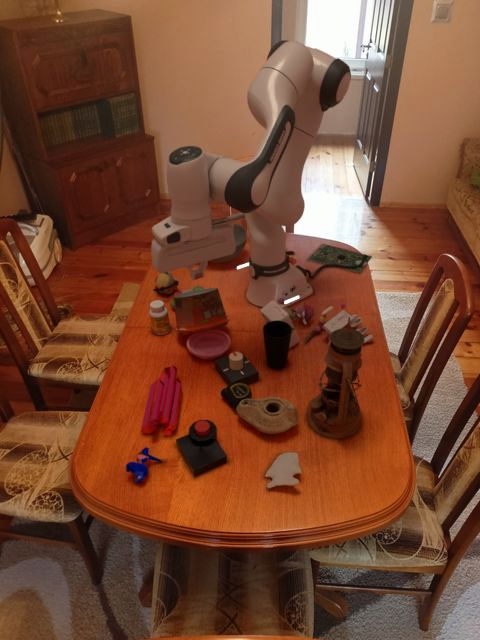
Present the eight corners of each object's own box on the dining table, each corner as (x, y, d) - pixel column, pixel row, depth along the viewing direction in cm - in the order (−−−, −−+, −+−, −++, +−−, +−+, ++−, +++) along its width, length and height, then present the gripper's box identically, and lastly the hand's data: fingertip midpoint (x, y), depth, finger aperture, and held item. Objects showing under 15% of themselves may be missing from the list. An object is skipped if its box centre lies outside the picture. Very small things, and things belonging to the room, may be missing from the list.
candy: (345, 349, 139) (347, 332, 135) (317, 347, 140) (318, 330, 136) (344, 313, 153) (347, 297, 149) (319, 311, 153) (320, 295, 150)
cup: (270, 375, 131) (271, 341, 123) (258, 359, 136) (257, 325, 128) (295, 366, 133) (297, 332, 125) (282, 350, 138) (283, 317, 131)
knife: (285, 254, 181) (285, 256, 181) (294, 252, 182) (294, 253, 183) (266, 240, 190) (266, 241, 191) (275, 237, 192) (275, 239, 192)
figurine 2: (270, 313, 135) (323, 305, 136) (265, 297, 147) (313, 290, 148) (274, 348, 140) (325, 340, 141) (269, 330, 152) (315, 323, 153)
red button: (206, 423, 113) (205, 418, 112) (212, 433, 110) (212, 427, 109) (192, 429, 111) (192, 423, 110) (199, 438, 109) (198, 433, 108)
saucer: (212, 331, 145) (211, 322, 143) (240, 350, 139) (239, 341, 137) (178, 349, 139) (177, 341, 137) (206, 370, 132) (205, 361, 130)
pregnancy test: (351, 320, 146) (353, 317, 146) (332, 336, 138) (334, 334, 137) (333, 304, 148) (335, 301, 147) (312, 319, 139) (314, 316, 139)
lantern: (303, 394, 125) (311, 296, 106) (353, 393, 125) (370, 296, 106) (310, 445, 112) (320, 345, 93) (366, 444, 112) (387, 344, 93)
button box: (210, 427, 116) (209, 415, 114) (231, 459, 109) (231, 448, 107) (174, 442, 113) (172, 430, 110) (194, 476, 106) (192, 465, 103)
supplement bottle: (166, 322, 149) (161, 296, 143) (173, 331, 146) (169, 305, 139) (149, 328, 147) (144, 302, 141) (157, 337, 143) (152, 311, 137)
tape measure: (220, 398, 124) (219, 387, 122) (242, 387, 127) (242, 377, 125) (233, 414, 120) (233, 404, 117) (256, 403, 123) (256, 392, 120)
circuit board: (359, 273, 172) (359, 271, 171) (308, 259, 179) (308, 258, 179) (372, 257, 181) (372, 255, 180) (322, 244, 188) (323, 243, 188)
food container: (206, 286, 150) (213, 320, 152) (159, 298, 141) (167, 333, 144) (233, 285, 137) (240, 322, 139) (183, 298, 128) (191, 337, 131)
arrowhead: (260, 483, 102) (269, 451, 110) (263, 491, 103) (271, 458, 111) (298, 481, 100) (303, 448, 108) (300, 489, 101) (306, 456, 109)
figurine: (137, 470, 100) (143, 487, 103) (157, 446, 106) (163, 462, 109) (119, 466, 102) (126, 483, 105) (140, 443, 108) (146, 459, 111)
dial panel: (241, 359, 136) (240, 350, 134) (258, 380, 129) (258, 371, 127) (215, 368, 133) (214, 360, 131) (232, 390, 126) (231, 382, 124)
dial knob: (245, 367, 128) (245, 356, 126) (233, 372, 127) (232, 361, 125) (239, 360, 131) (238, 349, 128) (227, 364, 130) (226, 353, 127)
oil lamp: (238, 405, 122) (237, 382, 117) (298, 408, 121) (299, 385, 116) (233, 439, 114) (232, 416, 108) (297, 443, 113) (299, 419, 108)
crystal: (137, 425, 110) (154, 354, 129) (140, 440, 113) (155, 369, 132) (174, 426, 110) (185, 355, 129) (175, 441, 114) (186, 370, 133)
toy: (160, 267, 165) (142, 272, 151) (185, 269, 164) (169, 274, 150) (160, 290, 168) (142, 297, 153) (185, 292, 166) (169, 299, 152)
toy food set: (182, 322, 149) (181, 313, 147) (164, 302, 157) (163, 293, 155) (220, 309, 154) (219, 300, 152) (201, 290, 163) (200, 281, 161)
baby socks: (357, 311, 148) (359, 317, 149) (341, 319, 148) (343, 325, 150) (374, 336, 139) (376, 342, 141) (357, 345, 139) (359, 350, 141)
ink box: (272, 334, 145) (258, 310, 136) (285, 324, 145) (272, 299, 137) (288, 350, 139) (274, 325, 130) (301, 339, 140) (288, 314, 131)
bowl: (192, 246, 187) (190, 222, 180) (245, 244, 188) (245, 220, 182) (192, 273, 171) (190, 248, 165) (250, 270, 173) (249, 245, 166)
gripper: (227, 210, 115) (229, 261, 124) (144, 229, 107) (153, 282, 116) (239, 219, 111) (241, 272, 120) (154, 240, 103) (163, 295, 112)
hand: (197, 277), depth 118 cm, fingers closed
